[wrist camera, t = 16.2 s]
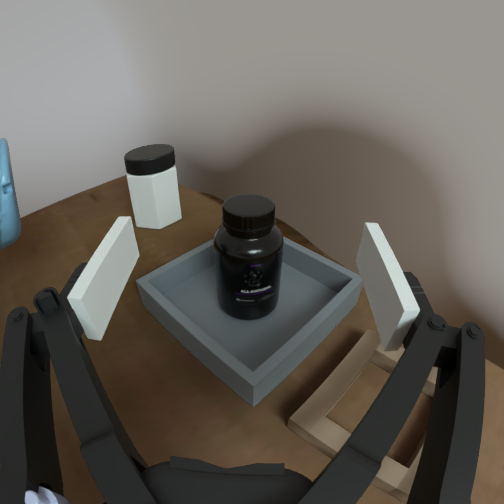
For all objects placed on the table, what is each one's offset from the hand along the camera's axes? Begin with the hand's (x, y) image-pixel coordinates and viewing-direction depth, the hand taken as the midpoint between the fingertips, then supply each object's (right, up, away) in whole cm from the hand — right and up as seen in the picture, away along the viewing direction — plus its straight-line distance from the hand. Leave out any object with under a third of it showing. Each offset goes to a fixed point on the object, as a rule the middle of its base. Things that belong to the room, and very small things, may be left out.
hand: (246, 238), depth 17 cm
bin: (0, -7, +18) cm, 20 cm away
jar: (-16, +5, +35) cm, 39 cm away
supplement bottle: (0, -6, +18) cm, 19 cm away
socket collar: (+12, -16, +7) cm, 21 cm away
